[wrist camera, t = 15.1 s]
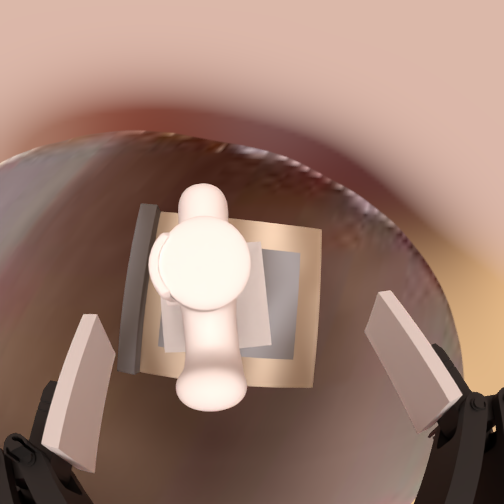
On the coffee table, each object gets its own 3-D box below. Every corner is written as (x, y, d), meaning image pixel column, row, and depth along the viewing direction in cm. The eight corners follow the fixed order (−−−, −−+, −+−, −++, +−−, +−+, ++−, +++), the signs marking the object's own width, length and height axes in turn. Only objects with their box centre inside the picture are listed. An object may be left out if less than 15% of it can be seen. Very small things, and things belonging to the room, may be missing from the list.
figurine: (253, 241, 24) (295, 124, 9) (265, 354, 22) (336, 405, 7) (168, 247, 23) (98, 139, 9) (175, 361, 21) (95, 419, 6)
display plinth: (137, 362, 24) (117, 370, 19) (155, 225, 28) (140, 203, 22) (300, 379, 25) (317, 391, 20) (309, 241, 29) (327, 223, 24)
